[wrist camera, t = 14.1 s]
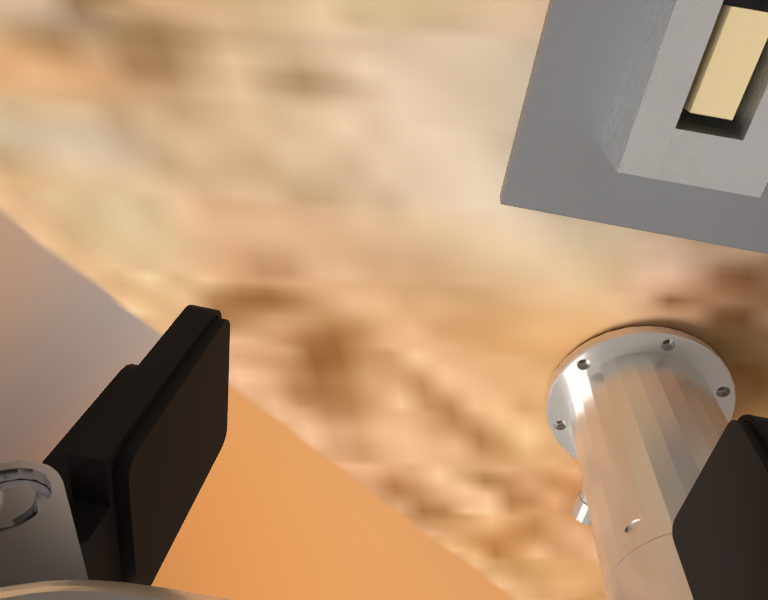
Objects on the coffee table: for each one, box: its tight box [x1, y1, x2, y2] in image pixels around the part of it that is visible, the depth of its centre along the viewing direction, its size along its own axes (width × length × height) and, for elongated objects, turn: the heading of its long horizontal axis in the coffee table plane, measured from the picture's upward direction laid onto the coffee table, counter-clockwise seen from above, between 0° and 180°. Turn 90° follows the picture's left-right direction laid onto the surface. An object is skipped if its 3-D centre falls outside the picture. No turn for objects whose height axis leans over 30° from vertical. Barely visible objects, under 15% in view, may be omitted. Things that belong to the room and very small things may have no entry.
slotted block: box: [600, 0, 768, 198], centre depth 30 cm, size 11×7×5 cm, turn 172°
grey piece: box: [500, 0, 768, 254], centre depth 31 cm, size 20×16×6 cm
